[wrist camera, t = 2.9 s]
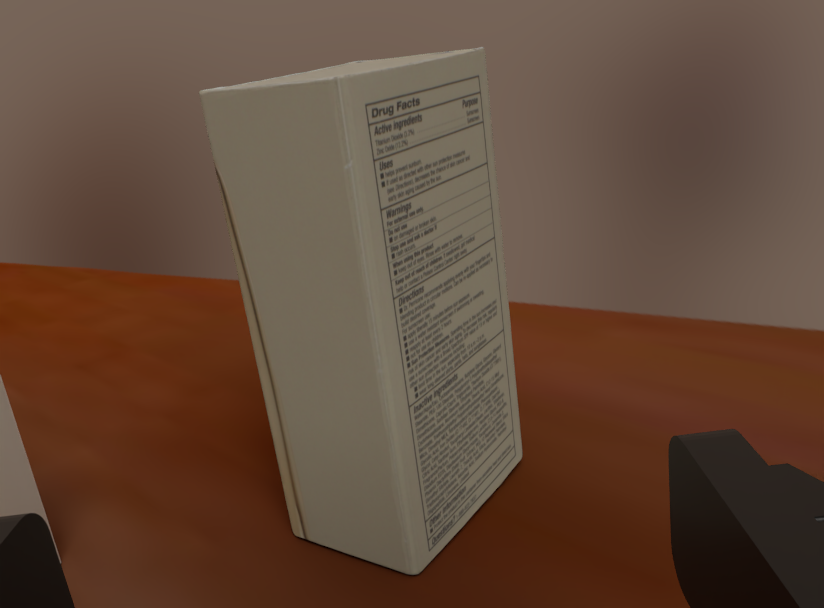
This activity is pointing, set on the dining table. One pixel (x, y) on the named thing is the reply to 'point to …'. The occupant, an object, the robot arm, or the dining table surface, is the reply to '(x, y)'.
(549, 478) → the dining table surface
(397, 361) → the skincare box
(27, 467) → the block
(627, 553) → the dining table surface
